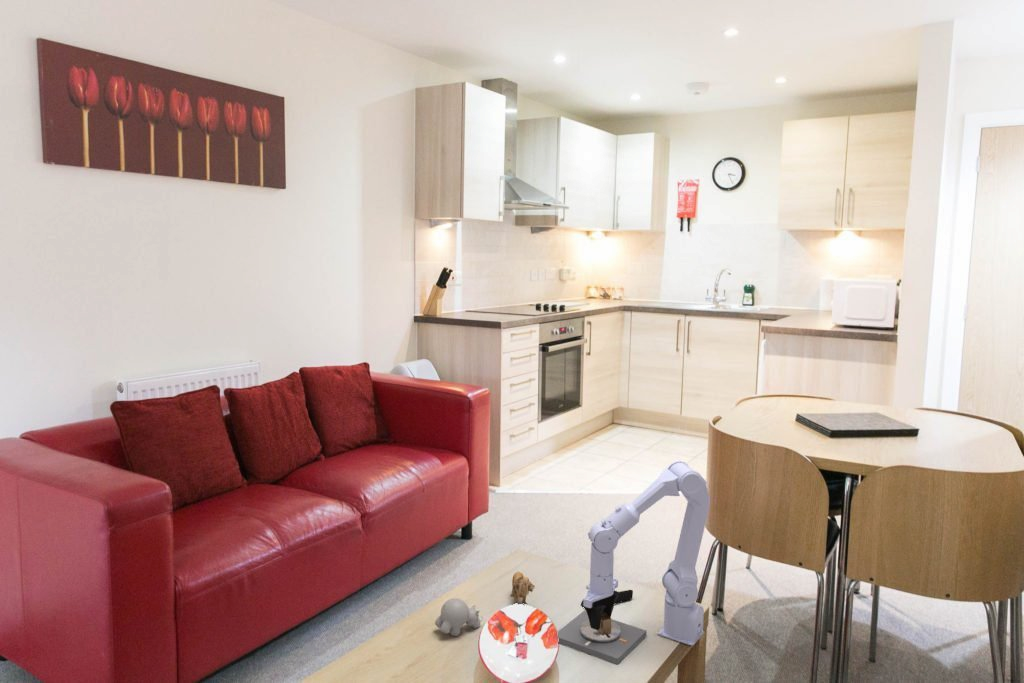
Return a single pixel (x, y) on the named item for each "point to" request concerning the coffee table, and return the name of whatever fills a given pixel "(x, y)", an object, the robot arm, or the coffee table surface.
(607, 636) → the dial
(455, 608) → the chubby cartoon animal
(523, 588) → the lion figurine
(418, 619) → the coffee table surface
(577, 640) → the dial base
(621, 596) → the electric trimmer
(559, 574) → the coffee table surface
